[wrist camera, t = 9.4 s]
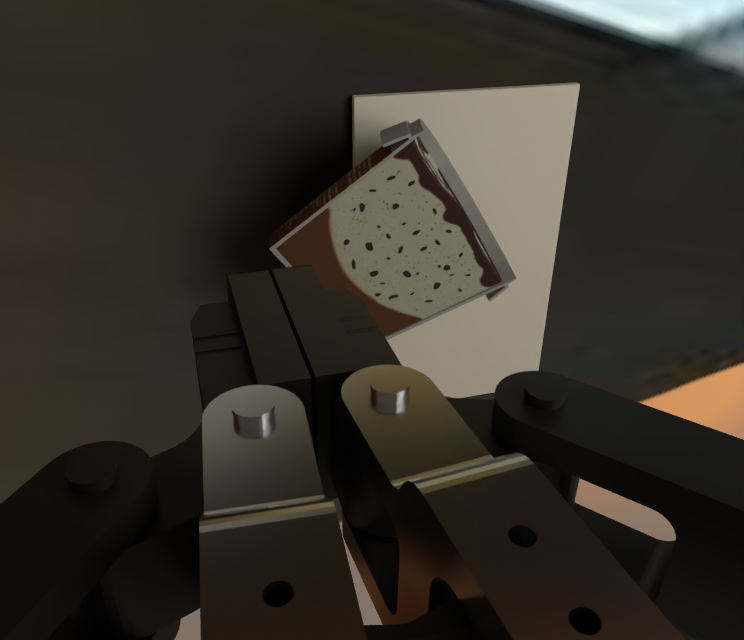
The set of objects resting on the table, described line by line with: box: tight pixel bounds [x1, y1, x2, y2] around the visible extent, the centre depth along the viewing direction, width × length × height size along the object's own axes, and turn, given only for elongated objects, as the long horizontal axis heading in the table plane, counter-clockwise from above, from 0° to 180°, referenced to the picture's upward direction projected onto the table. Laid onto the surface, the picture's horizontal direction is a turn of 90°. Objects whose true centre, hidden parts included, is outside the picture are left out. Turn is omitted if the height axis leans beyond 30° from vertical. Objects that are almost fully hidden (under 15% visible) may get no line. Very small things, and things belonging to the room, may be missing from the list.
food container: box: [269, 119, 517, 340], centre depth 41 cm, size 12×6×10 cm
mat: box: [352, 83, 580, 398], centre depth 47 cm, size 14×22×1 cm, turn 0°
